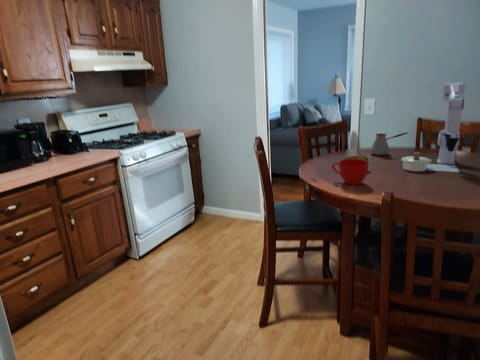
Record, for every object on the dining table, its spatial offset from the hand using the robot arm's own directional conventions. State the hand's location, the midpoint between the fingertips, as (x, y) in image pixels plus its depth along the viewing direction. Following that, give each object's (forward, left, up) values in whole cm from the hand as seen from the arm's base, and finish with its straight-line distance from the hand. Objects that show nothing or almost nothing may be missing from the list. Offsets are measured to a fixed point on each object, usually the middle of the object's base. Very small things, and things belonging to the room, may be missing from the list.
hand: (449, 149), depth 172 cm
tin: (+14, -44, -11) cm, 48 cm away
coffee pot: (-28, -29, -11) cm, 42 cm away
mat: (-2, -2, -10) cm, 11 cm away
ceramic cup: (+36, -44, -11) cm, 58 cm away
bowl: (+3, -15, -10) cm, 19 cm away
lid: (+3, -15, -6) cm, 16 cm away
